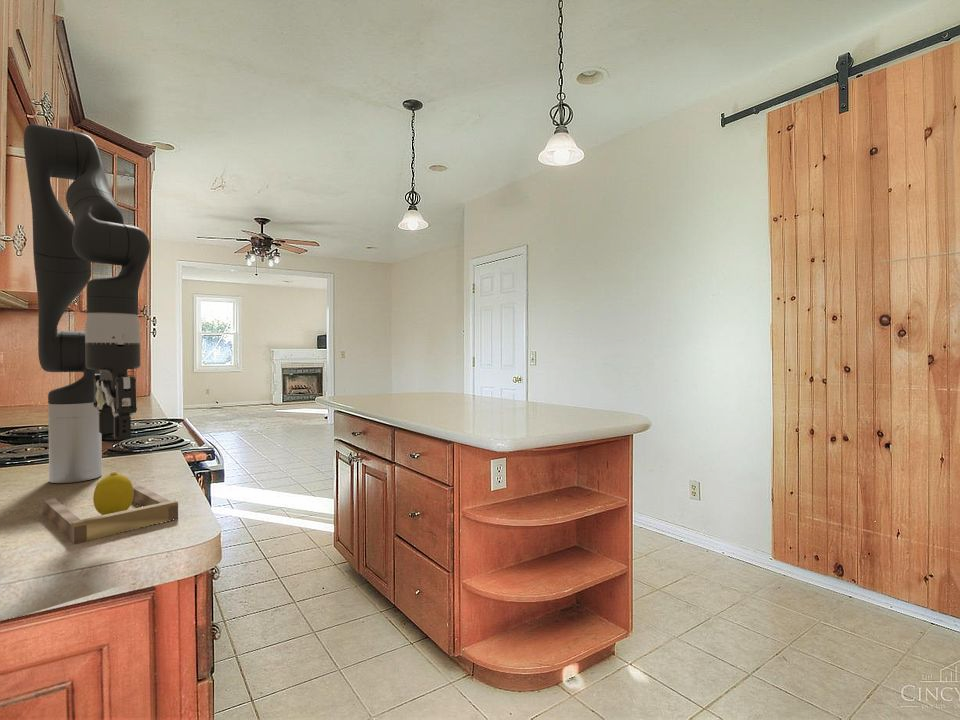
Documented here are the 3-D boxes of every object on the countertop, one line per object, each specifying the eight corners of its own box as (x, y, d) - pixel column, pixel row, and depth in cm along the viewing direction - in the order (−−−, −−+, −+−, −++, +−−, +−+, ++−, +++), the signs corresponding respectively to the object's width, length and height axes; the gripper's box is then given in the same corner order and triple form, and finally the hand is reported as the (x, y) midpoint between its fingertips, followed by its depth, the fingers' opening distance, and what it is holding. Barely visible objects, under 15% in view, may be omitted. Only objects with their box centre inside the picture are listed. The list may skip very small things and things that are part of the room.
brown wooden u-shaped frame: (42, 513, 88) (42, 496, 88) (135, 495, 98) (135, 480, 98) (74, 543, 74) (73, 523, 74) (178, 519, 85) (178, 501, 85)
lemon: (112, 525, 81) (112, 477, 81) (84, 523, 82) (84, 475, 82) (141, 515, 86) (141, 469, 86) (115, 512, 88) (115, 467, 88)
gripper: (74, 341, 86) (76, 434, 86) (98, 340, 77) (99, 444, 77) (126, 341, 92) (127, 429, 92) (153, 341, 83) (154, 438, 83)
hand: (114, 436), depth 85 cm, fingers open, 8 cm apart
